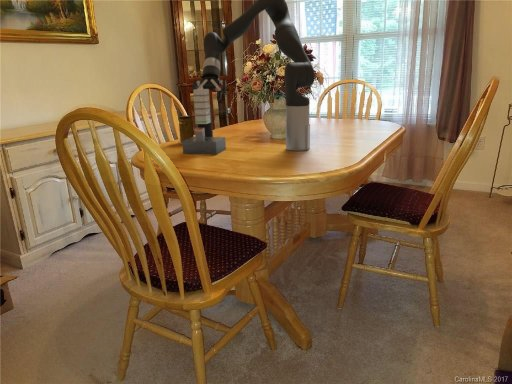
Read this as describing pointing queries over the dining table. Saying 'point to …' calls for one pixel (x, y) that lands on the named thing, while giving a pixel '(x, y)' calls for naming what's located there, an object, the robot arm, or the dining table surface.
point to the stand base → (203, 144)
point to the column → (202, 106)
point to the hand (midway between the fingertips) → (208, 99)
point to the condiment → (185, 128)
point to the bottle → (207, 127)
